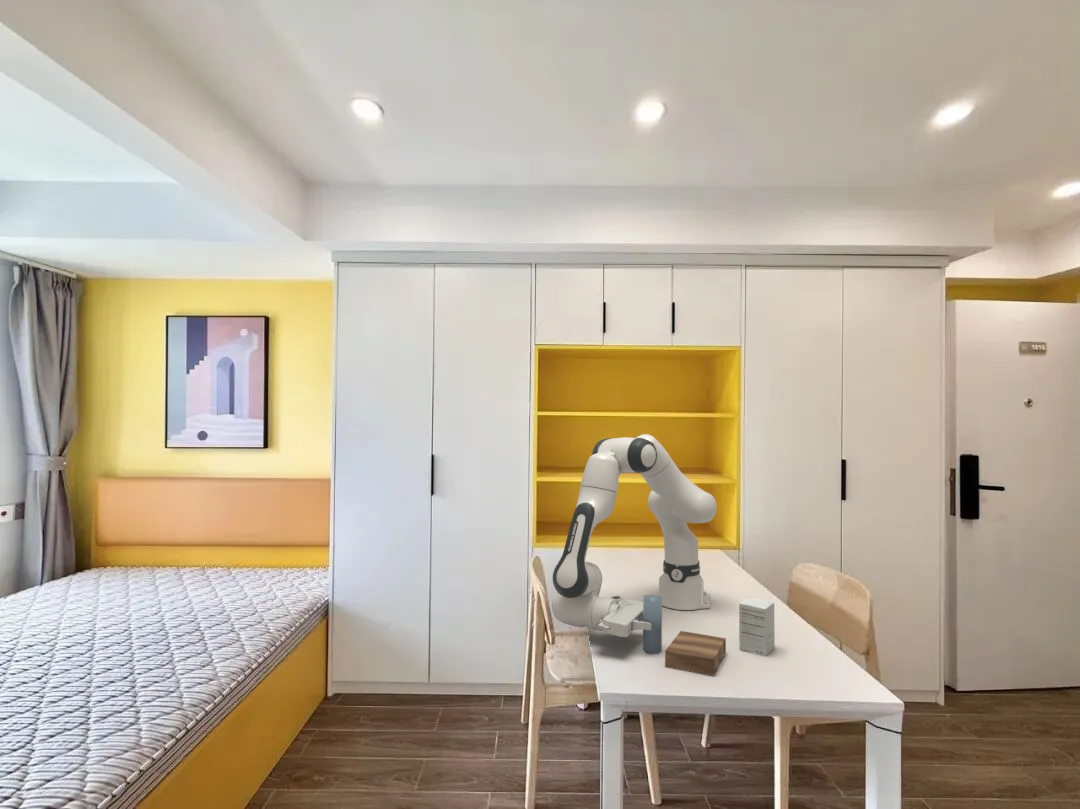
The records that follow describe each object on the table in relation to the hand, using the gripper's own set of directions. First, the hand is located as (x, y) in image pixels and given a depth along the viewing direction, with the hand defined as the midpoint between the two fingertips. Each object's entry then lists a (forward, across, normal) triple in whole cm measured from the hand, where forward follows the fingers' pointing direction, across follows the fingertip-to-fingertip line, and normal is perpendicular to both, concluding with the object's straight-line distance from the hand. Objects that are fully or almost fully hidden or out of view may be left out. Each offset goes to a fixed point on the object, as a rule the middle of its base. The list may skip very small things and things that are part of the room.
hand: (655, 622), depth 163 cm
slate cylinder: (-1, 0, +8) cm, 8 cm away
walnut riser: (+11, -1, +8) cm, 13 cm away
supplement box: (+24, +14, +8) cm, 29 cm away
